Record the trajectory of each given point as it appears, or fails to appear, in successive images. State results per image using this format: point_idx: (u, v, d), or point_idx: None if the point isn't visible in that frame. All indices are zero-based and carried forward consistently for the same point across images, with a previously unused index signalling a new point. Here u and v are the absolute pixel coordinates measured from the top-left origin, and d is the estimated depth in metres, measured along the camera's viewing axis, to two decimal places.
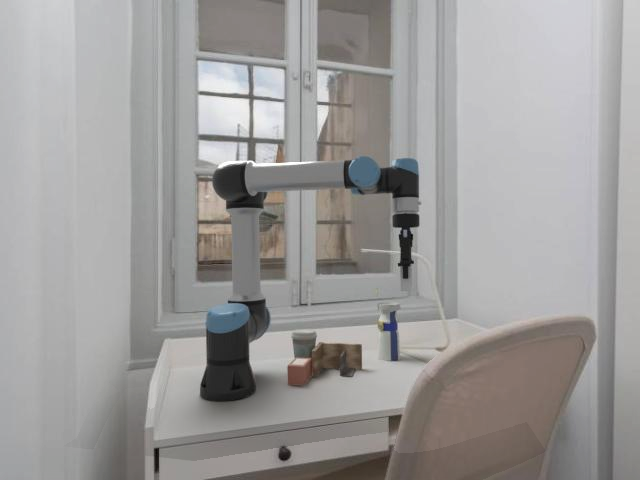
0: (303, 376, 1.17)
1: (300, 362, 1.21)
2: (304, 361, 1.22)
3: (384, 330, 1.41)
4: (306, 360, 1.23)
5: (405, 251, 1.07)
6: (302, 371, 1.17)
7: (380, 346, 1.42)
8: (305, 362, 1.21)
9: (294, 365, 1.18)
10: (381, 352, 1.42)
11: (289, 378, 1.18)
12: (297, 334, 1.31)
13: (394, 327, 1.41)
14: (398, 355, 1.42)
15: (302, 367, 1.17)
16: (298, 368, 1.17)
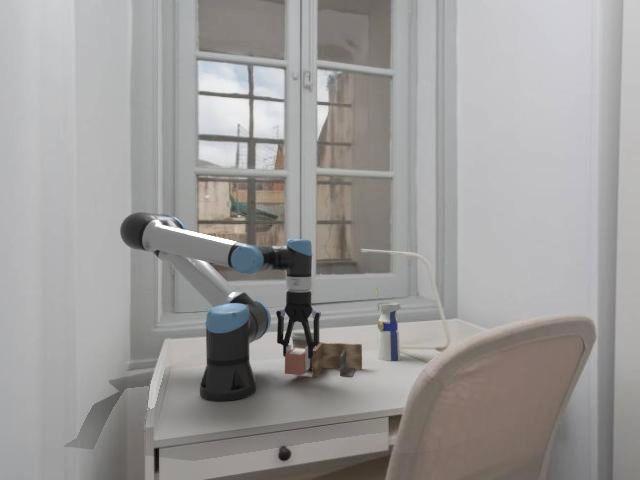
0: (300, 365, 1.17)
1: (298, 351, 1.21)
2: (302, 351, 1.22)
3: (384, 330, 1.41)
4: (304, 350, 1.23)
5: None
6: (299, 360, 1.17)
7: (380, 346, 1.42)
8: (303, 352, 1.21)
9: (291, 354, 1.18)
10: (381, 352, 1.42)
11: (286, 367, 1.18)
12: (297, 334, 1.31)
13: (394, 327, 1.41)
14: (398, 355, 1.42)
15: (299, 356, 1.17)
16: (295, 357, 1.17)
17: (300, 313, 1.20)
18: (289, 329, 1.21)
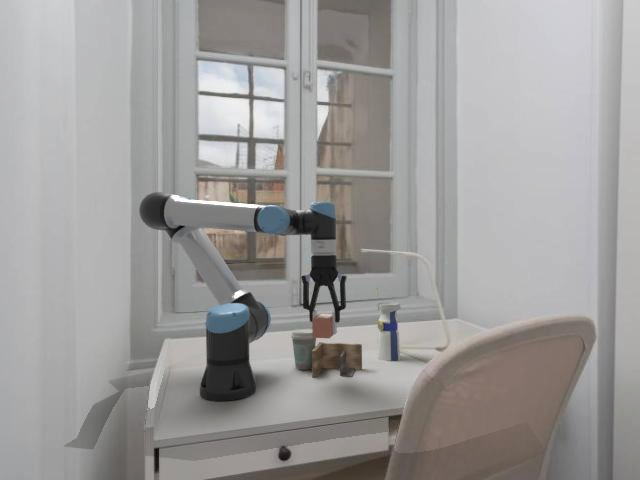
0: (328, 328, 1.15)
1: (325, 316, 1.20)
2: (329, 315, 1.20)
3: (384, 330, 1.41)
4: (331, 315, 1.21)
5: None
6: (327, 323, 1.15)
7: (380, 346, 1.42)
8: (330, 316, 1.19)
9: (318, 318, 1.16)
10: (381, 352, 1.42)
11: (314, 331, 1.16)
12: (297, 334, 1.31)
13: (394, 327, 1.41)
14: (398, 355, 1.42)
15: (327, 319, 1.15)
16: (323, 320, 1.16)
17: (326, 276, 1.18)
18: (315, 293, 1.20)
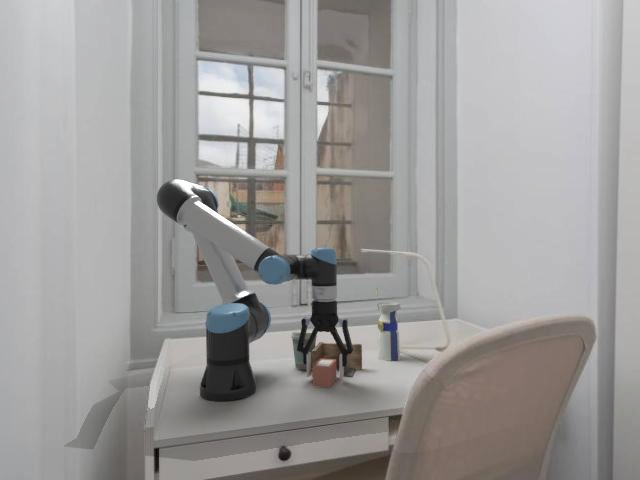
0: (329, 378, 1.15)
1: (325, 363, 1.19)
2: (329, 362, 1.20)
3: (384, 330, 1.41)
4: (331, 361, 1.21)
5: None
6: (328, 372, 1.15)
7: (380, 346, 1.42)
8: (330, 363, 1.19)
9: (319, 367, 1.16)
10: (381, 352, 1.42)
11: (315, 380, 1.16)
12: (297, 334, 1.31)
13: (394, 327, 1.41)
14: (398, 355, 1.42)
15: (328, 368, 1.15)
16: (324, 369, 1.15)
17: (327, 323, 1.18)
18: (312, 338, 1.20)
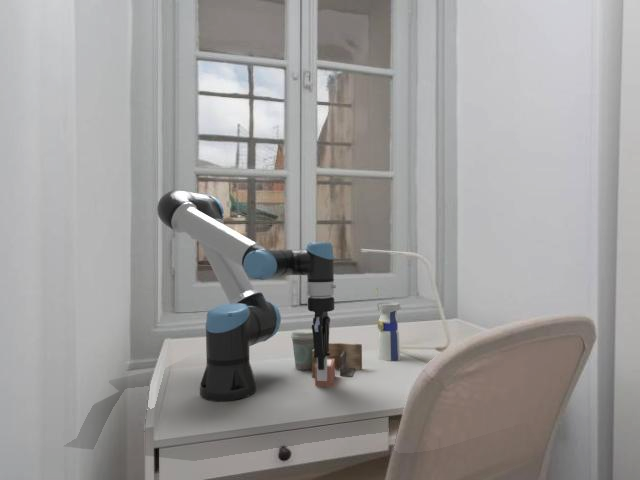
0: (331, 377, 1.16)
1: None
2: (329, 362, 1.20)
3: (384, 330, 1.41)
4: (331, 361, 1.22)
5: (318, 346, 1.11)
6: (330, 372, 1.16)
7: (380, 346, 1.42)
8: (330, 363, 1.20)
9: None
10: (381, 352, 1.42)
11: None
12: (297, 334, 1.31)
13: (394, 327, 1.41)
14: (398, 355, 1.42)
15: (330, 368, 1.16)
16: None
17: (328, 318, 1.16)
18: (324, 338, 1.14)
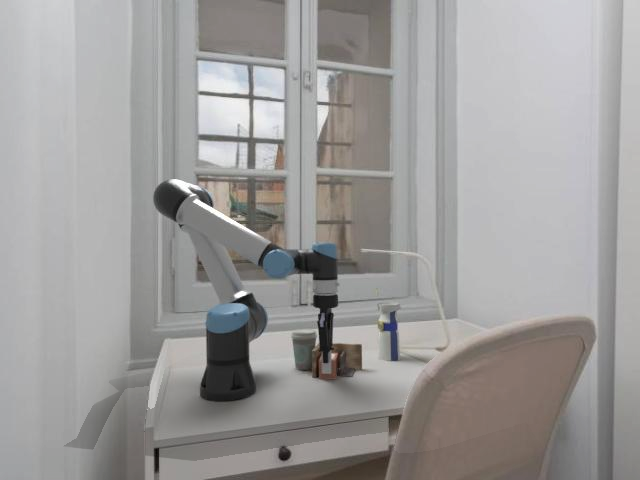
0: (334, 370, 1.22)
1: None
2: (332, 356, 1.27)
3: (384, 330, 1.41)
4: (334, 355, 1.28)
5: (323, 341, 1.17)
6: (333, 365, 1.22)
7: (380, 346, 1.42)
8: (334, 357, 1.26)
9: None
10: (381, 352, 1.42)
11: (321, 372, 1.22)
12: (297, 334, 1.31)
13: (394, 327, 1.41)
14: (398, 355, 1.42)
15: (333, 361, 1.22)
16: None
17: (332, 314, 1.22)
18: (329, 333, 1.20)
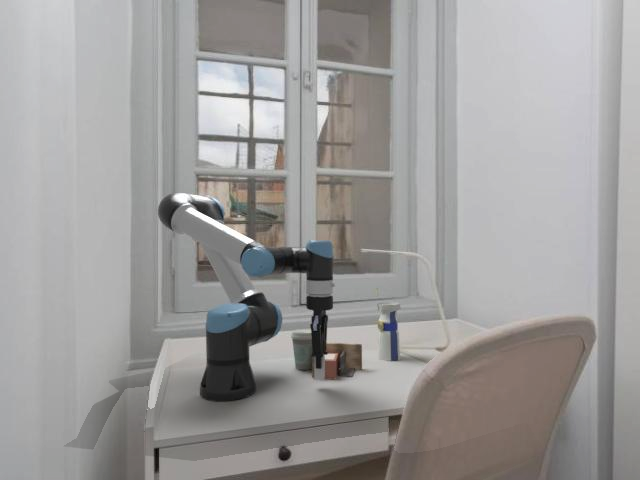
0: (334, 370, 1.22)
1: (329, 356, 1.26)
2: (333, 356, 1.27)
3: (384, 330, 1.41)
4: (334, 355, 1.28)
5: (316, 345, 1.10)
6: (333, 365, 1.22)
7: (380, 346, 1.42)
8: (334, 357, 1.26)
9: (325, 360, 1.23)
10: (381, 352, 1.42)
11: None
12: (297, 334, 1.31)
13: (394, 327, 1.41)
14: (398, 355, 1.42)
15: (333, 361, 1.22)
16: (329, 362, 1.22)
17: (327, 317, 1.15)
18: (323, 337, 1.13)
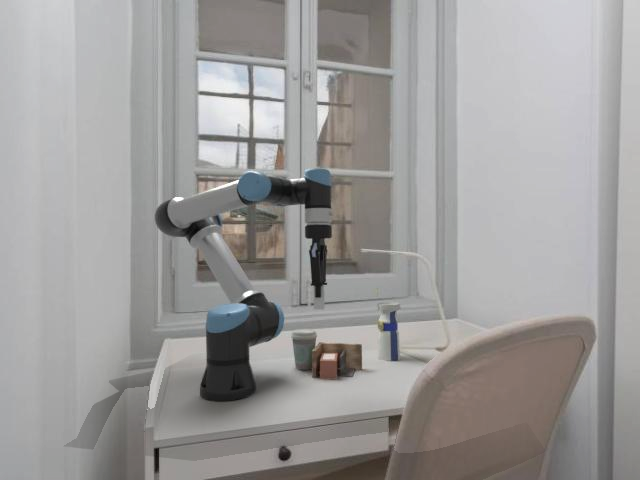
0: (335, 370, 1.22)
1: (329, 356, 1.26)
2: (333, 356, 1.27)
3: (384, 330, 1.41)
4: (334, 355, 1.28)
5: (315, 272, 1.09)
6: (334, 365, 1.22)
7: (380, 346, 1.42)
8: (334, 357, 1.26)
9: (326, 360, 1.23)
10: (381, 352, 1.42)
11: (322, 372, 1.22)
12: (297, 334, 1.31)
13: (394, 327, 1.41)
14: (398, 355, 1.42)
15: (334, 361, 1.22)
16: (330, 362, 1.22)
17: (326, 247, 1.14)
18: (322, 266, 1.12)
